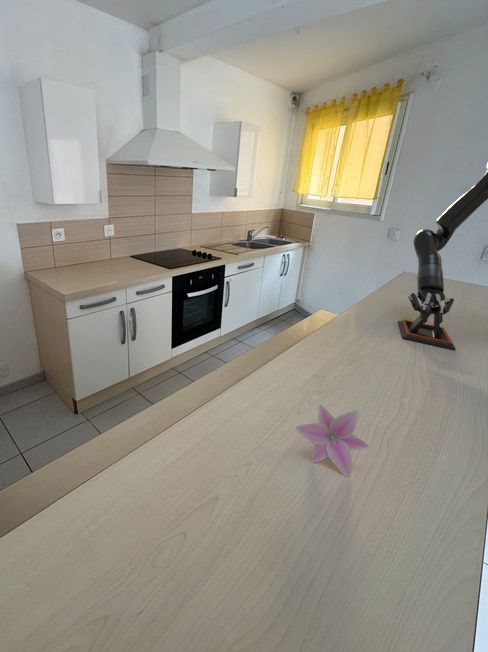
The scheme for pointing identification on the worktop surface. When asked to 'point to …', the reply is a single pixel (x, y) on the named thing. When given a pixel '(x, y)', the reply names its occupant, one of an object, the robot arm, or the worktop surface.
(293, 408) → the worktop surface
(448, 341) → the rimmed tray
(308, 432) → the lily
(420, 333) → the phone stand
